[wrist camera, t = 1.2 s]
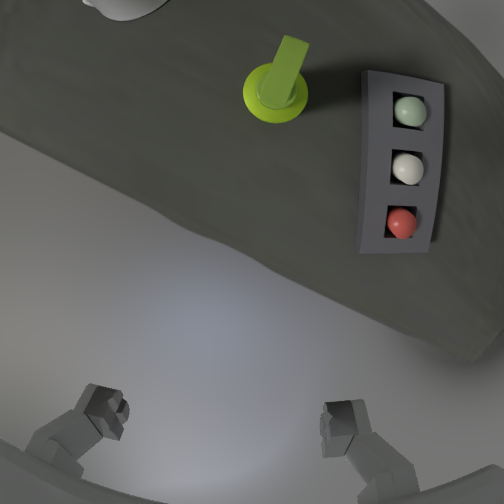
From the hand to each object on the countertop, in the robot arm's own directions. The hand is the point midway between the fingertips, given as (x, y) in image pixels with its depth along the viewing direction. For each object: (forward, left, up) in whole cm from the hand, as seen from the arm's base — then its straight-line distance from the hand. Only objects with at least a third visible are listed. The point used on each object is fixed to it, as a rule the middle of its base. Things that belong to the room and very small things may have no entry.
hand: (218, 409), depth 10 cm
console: (-4, +21, -35) cm, 41 cm away
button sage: (-12, +21, -33) cm, 41 cm away
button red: (+4, +21, -33) cm, 39 cm away
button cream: (-4, +21, -33) cm, 39 cm away
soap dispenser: (-13, +3, -35) cm, 37 cm away
